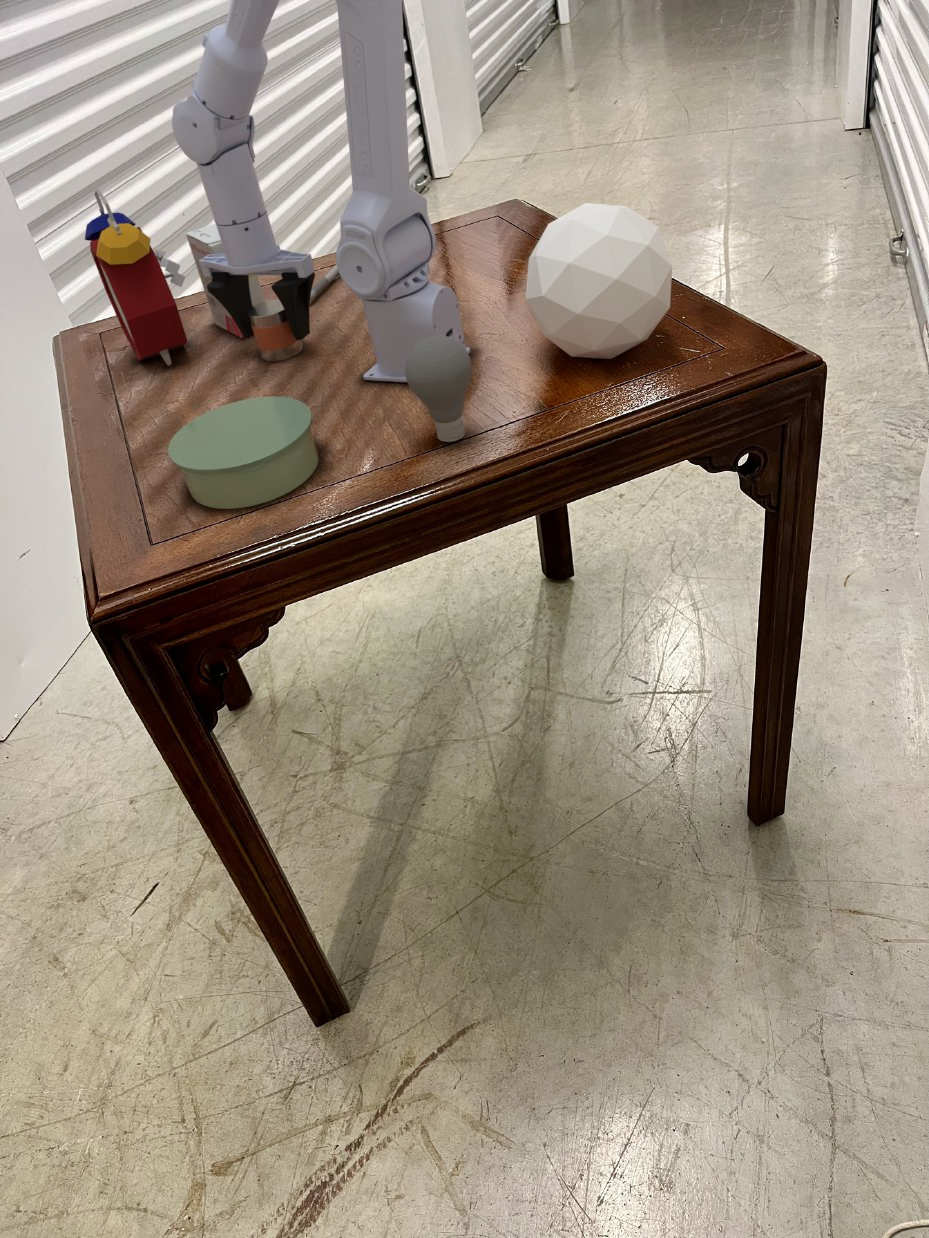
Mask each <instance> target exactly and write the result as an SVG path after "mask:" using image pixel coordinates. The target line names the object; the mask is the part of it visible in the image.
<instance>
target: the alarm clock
mask: <svg viewBox="0 0 929 1238" xmlns="http://www.w3.org/2000/svg"><path fill="white" fill-rule="evenodd" d="M94 197H95V200H96V202H97V205H98V210H99V213H100V215H98V216H96V217H95V218H93V219H91V220H90V221H89V222H88V223H87V224H86V226H85V234H84V240H85V241H89V248H90V253H91V256H92V259H93V261H94V264H95V266H96V270H97V272H98V275H99V277H100V280H101V283H102V285H103V288H104V290H105V292H106V295H107V297H108V299H109V301H110V302H109V303H110V304H111V306H112V308H113V311H114V314H115V315H116V318H117V320H118V322H119V325H120V328H121V329H122V332H123V334H124V336H125V338H126V340H127V341H128V343H129V345H130V347H131V349H132V351H133V353H134V355H135V357H136V359H137V361H138V362H142V361H144V360H147V359H149V358H152V357H156V356H159V355H160V356H161V357H162V359H163V361H164V362H165V364H166V365H167V366H168V367H169V366H172V365H173V364H172V360H171V356H170V353H169V352H170V351H174V350H176V349H179V348H182V347H184V346H185V345H186V344H187V343H188V339H187V335H186V332H185V328H184V324H183V322H182V319H181V316H180V312H179V309H178V306H177V302H176V300H175V298H174V295H173V293H172V291H171V288H170V286H169V283H171V284H174V285H176V286H178V287H179V288H182V286H183V284H184V282H185V279H186V276H185V275H183V274H181V273H179V270H180V268H181V264H179V263H177V262H175V261H173V260H171V259H168V258H165V255H166V253H167V252H166V251H164V250H159V249H157V248H156V249H155V250H154V249H153V248H152V246H151V237H149V236H148V235H147V234H145V233H144V232H143V230H142V229H141V227H140V226H137V227H136V225H137V223H136V222H134V221H133V220H131V219H130V218H129V217H128V216H127V215H125V214H124V213H122V212H112V209H111V207H110V204H109V203H108V201H107V199H106V197H105V196H104V194H103V193H102V190H101V189H100V188H98V187H96V188H95V191H94ZM105 209H106V211H107V213H106V212H105ZM162 268H165V269H164V271H165V272H168V273H167V274H164V271H163V269H162ZM169 278H170V281H169V283H168V281H167V279H169Z"/></svg>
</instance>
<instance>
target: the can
mask: <svg viewBox="0 0 929 1238" xmlns="http://www.w3.org/2000/svg"><path fill="white" fill-rule="evenodd" d="M248 315H249V318H250V322H251V326H252V329H253V332H254V334H253V335H254V338H255V341H256V345H257V347H258V350H259V353H260V356H261V358H262V360H263V361H266V362H279V361H285V360H288V359H290V358H294V357H295V356H297V355H298V354H300V353H301V352H302V350H303V343H302V340H296V338H295V337H294V334H293V332H292V329H291V326H290V323H289V320H288V317H287V314H286V312H285V310H284V308H283V306H282V304H281V302H280V300H279V298H276V299H269V300H265V302H262V303H259V304H257V305H255V306H253V307H252V308H251V309H250V310H249V311H248Z"/></svg>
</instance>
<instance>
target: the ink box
mask: <svg viewBox="0 0 929 1238" xmlns="http://www.w3.org/2000/svg"><path fill="white" fill-rule="evenodd" d="M185 237H186V240H187V242H188V245H189V248H190V251H191V255H192V257H193V260H194V263H195V266H196V269H197V272H198V276H199V277H200V281H201V282H200V283H201V285H202V287H203V290H204V294H205V297H206V300H207V303H208V306H209V309H210V312H211V315H212V318H213V321H214V324H215V326H217V327H219V328H222V329H223V330H225V331H227V332H228V333H230V334H233V335H234V336H236V337H238V338H240V339H243V338H245V337H244V336H243V334H242V333H241V331H240V329H239V328H238V326H237V325H236V323H235V321H234V320H233V318H232V317H231V315H230V314H229V313H228V311H227V310H226V309H225V308H224V306H223V305H222V304H221V303H220V302H219V301H218V300H217V299H216V298H215V297H214V296H213V295H212V294H210V293H209V292H208V289H207V285H208V284H209V283H210V282H212V279H213V278H212V277H204V275H203V272H202V269H201V266H200V263H199V260H201V259H202V258H204V257H206V256H207V255H209V254H223V253H225V251H224V248H223V245H222V242H221V239H220V236H219V233H218V229H217V226H216V223H214V224H212V225H211V224H210V225H208V226H207V225H206V226H204V227H201V228H197V229H194V230H189V231H188V232H186V233H185ZM258 276H259V275H249V288H250V296H251V301H252V305H253V306H255V305H257V304H259V303H262V302H265V301H266V299H265V296H264V292H263V290H262V287H261V283H260V280H259V277H258Z"/></svg>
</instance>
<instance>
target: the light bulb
mask: <svg viewBox="0 0 929 1238" xmlns="http://www.w3.org/2000/svg"><path fill="white" fill-rule="evenodd" d="M405 375H406V379H407V382H406V383H407V385H408V386H409V388H410V390H411V391H412V393H413V394H414V395H415V396H416V398H418V399H419V400H420V401H421V402H422V404H423V405H424V406H425V407H426V409H427V412H428V414H429V416H430V418H431V419H432V420H433V422H434V425H435V431H436V435H437V439H438V441H441V442H447V443H454V442H456V441H458V440H460V439H463V437H464V436H465V435H466V431H465V427H464V426H465V425H464V420H463V413H464V409H465V403H464V401H465V396H466V393H467V391H468V389H469V387H470V383H471V381H472V375H473V365H472V360H471V357H470V354H468V353H467V351H466V350H465V349H464V348H463V346H462V345H461V344H460V343H458V342H457V341H455V340H454V339H452V338H450V337H447V336H442V335H434V336H429V337H427V338H424V339H422V340H421V341H419V342H418V343H417V344H416V345H415V346H414V347H413V348H412V350H411V351H410V353H409V355H408V358H407V361H406V365H405Z"/></svg>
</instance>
